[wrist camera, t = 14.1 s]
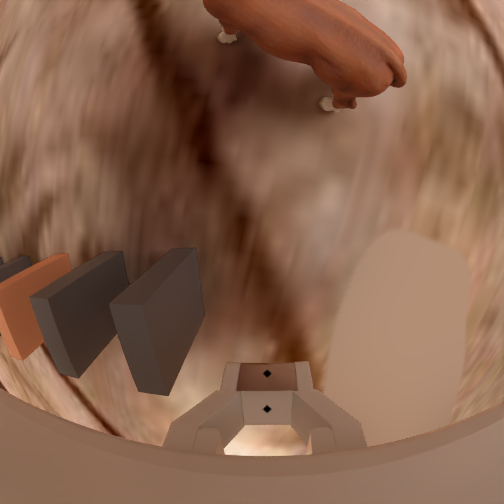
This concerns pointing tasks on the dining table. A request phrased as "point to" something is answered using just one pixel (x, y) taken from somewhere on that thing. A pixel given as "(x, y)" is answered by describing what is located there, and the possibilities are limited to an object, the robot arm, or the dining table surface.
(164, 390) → the domino
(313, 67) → the bull figurine
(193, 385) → the dining table surface
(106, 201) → the dining table surface
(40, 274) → the domino
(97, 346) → the domino
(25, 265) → the domino
